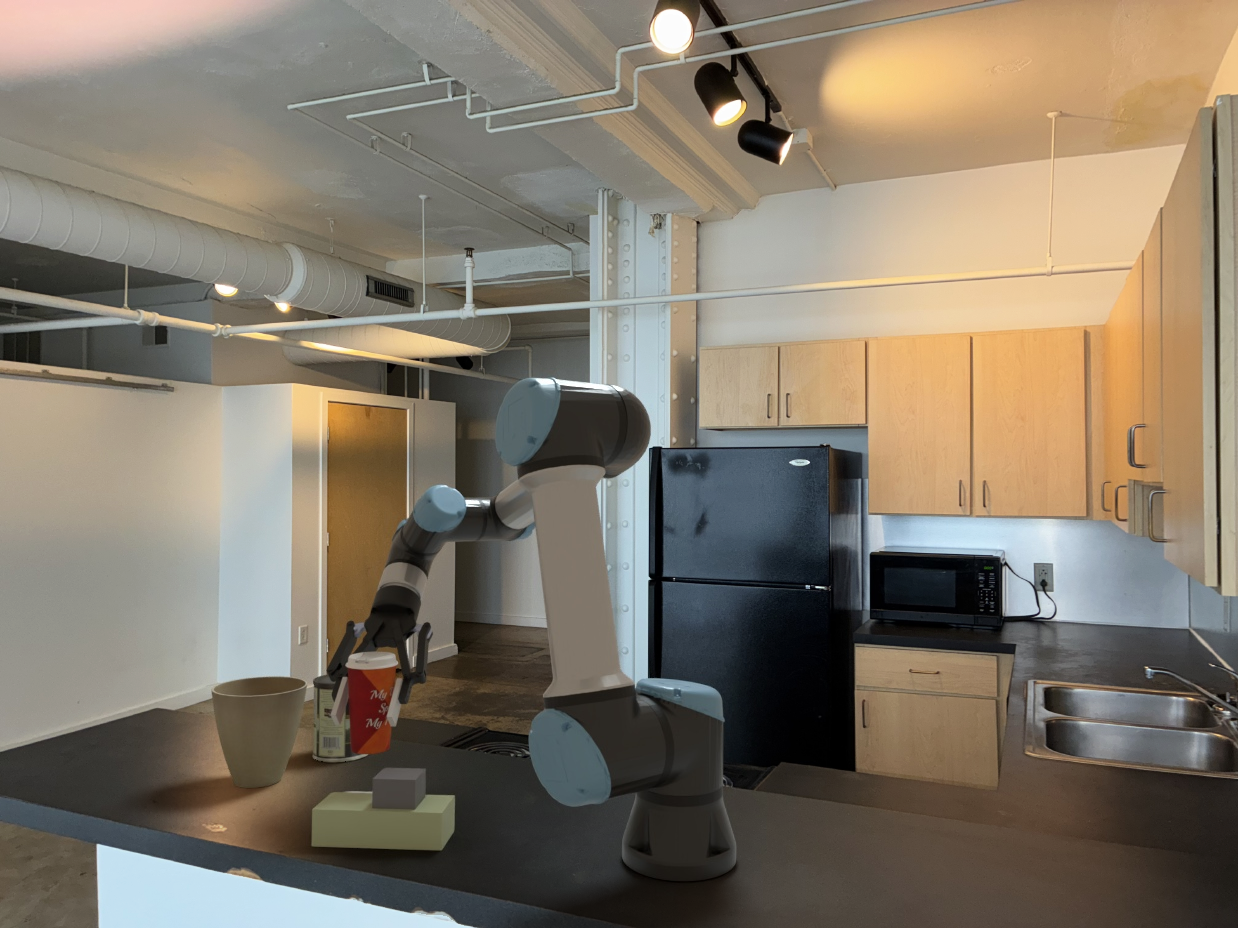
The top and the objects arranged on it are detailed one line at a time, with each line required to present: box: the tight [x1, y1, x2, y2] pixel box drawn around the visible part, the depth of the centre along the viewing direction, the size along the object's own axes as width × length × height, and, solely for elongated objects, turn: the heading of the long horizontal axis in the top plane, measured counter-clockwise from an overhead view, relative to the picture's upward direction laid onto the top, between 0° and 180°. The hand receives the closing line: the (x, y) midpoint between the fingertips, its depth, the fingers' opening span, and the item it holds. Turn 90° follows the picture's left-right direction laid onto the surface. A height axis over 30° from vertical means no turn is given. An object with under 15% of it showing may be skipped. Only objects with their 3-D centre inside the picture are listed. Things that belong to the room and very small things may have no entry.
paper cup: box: [345, 651, 399, 755], centre depth 133 cm, size 8×8×14 cm
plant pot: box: [211, 675, 308, 789], centre depth 148 cm, size 15×15×16 cm
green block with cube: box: [311, 767, 456, 851], centre depth 129 cm, size 20×17×9 cm
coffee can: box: [312, 674, 370, 763], centre depth 163 cm, size 10×10×14 cm
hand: (363, 720), depth 130 cm, fingers closed on paper cup, 8 cm apart
